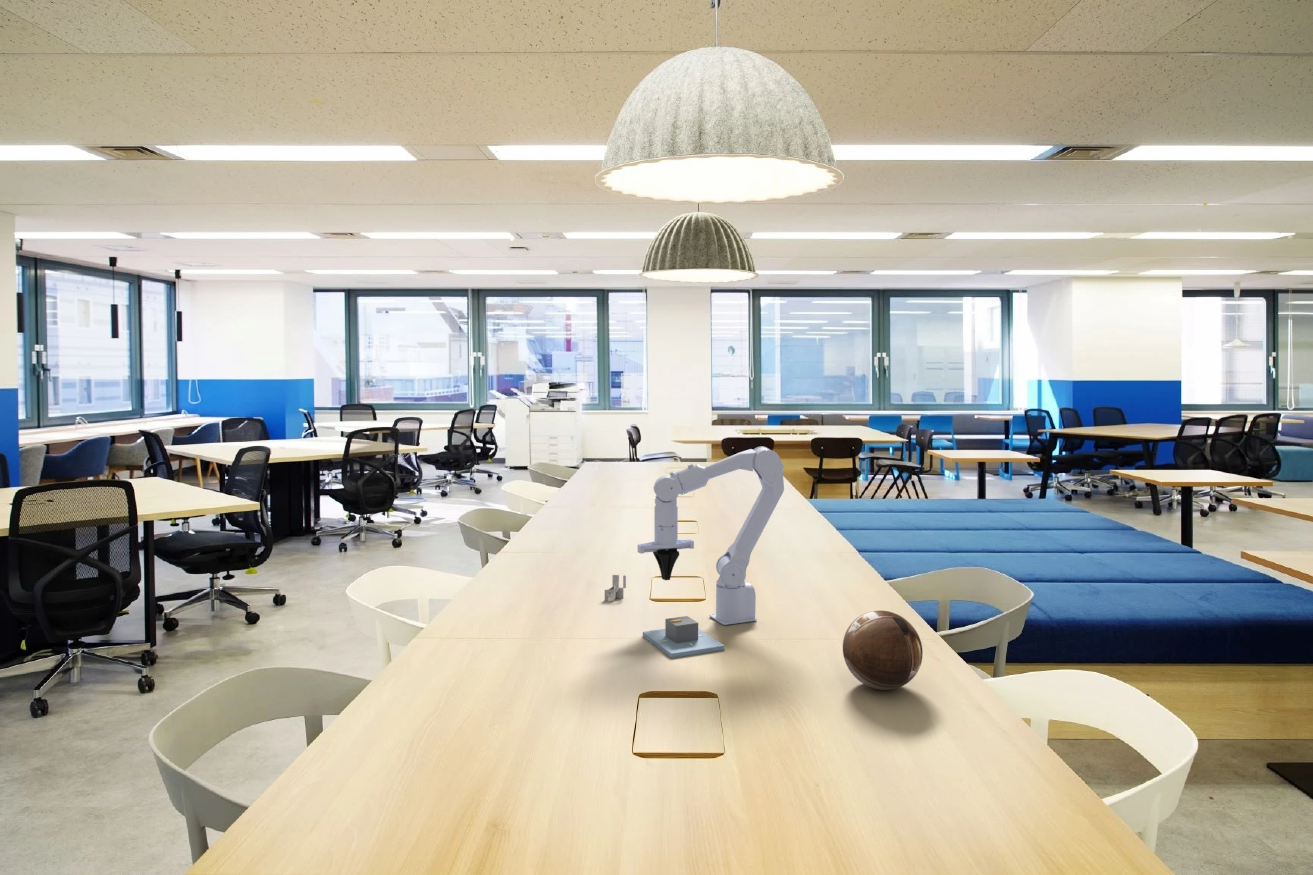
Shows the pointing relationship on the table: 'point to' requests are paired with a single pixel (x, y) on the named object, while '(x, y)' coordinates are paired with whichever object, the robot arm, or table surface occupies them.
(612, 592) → the architectural model
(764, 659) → the table surface
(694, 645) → the plate
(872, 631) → the wooden sphere
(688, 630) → the grey drawer cabinet
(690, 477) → the robot arm
